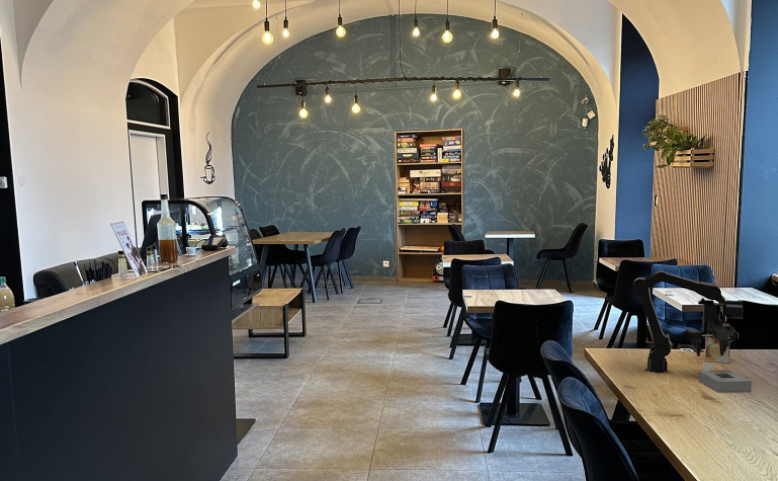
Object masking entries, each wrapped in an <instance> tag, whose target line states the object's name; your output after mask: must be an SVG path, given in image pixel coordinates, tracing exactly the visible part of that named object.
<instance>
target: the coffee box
mask: <svg viewBox="0 0 778 481" xmlns="http://www.w3.org/2000/svg"><path fill="white" fill-rule="evenodd" d="M722 324H723V326H726V327H727V326H731V324H730V323H723V322H722ZM704 342H705V343H704V344H705V345H704V346H705V348H704V357H711V358H714V359H715V363H721V364H722V363H723V364H730V360H731V358H730V357H731V342H730V343H729V345H728V346H727V348H726V350H725V352H724V355H723V356H721V355H720V348H719V340H717V339H715V337H714V336H711V337H705V341H704Z"/></svg>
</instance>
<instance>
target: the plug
mask: <svg viewBox="0 0 778 481" xmlns="http://www.w3.org/2000/svg"><path fill="white" fill-rule="evenodd" d="M702 359H703V360H702V371H716V370H715V369H716V362H715V359H714V358H711V357H705V356H704V357H703V358H702Z"/></svg>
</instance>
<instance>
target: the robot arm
mask: <svg viewBox="0 0 778 481" xmlns="http://www.w3.org/2000/svg"><path fill="white" fill-rule="evenodd" d="M660 283H666V284H670V285H672V286H676V287H679V288H681V289H685V290H688V291H691V292H693V293H695V294H697V295H699V296H701V299H700V300H699V301H697V304H698V305H701V306H702V308H703V309H702V317H700V321H702V327H700V331H698V330H696V329H693V328H692V329H691V328H690V329H685V330H684V331H683V337H684V338H686V339H688V340H689V341H690V343H691V344H692V347H693V349H694V351H695V354H696V356H697V357H701V343H702V342H703V340H702V337H703V338H704V337H705V338H706V337H711V336H714V337H715V339H717V340H719V348H720V355H721V356H723V355H724V352H725V350H726V348H727V346H728V345H729V343H730V344H731V343H732V342H734V341H736V340H738V339H739V335H740V334H739V332H738V331H737V330H736V329H735V327H733V325H730V326H727V327H726V326H723V324H722V323H723V320H722V319H721V315H722V316H723V315H724V317H725V318H728V319H729V318H730V319H739V320H740V319H741V320H742V319H743V318H744V307H743V306H744V304H743V300H729V299H726V298H725V296H723V294H722V291H721V288H720V286H719V285H718V284H716V283H714V282H706V281H697V280H693V279H689V278H686V277H683V276H679V275H676V274H674V273H669V272H666V271H665V270H658V271H656V272H655V273H652V274H649V275H647V276H644V277H642V276H641V277H640V276H639V277H637V278H635V279H634V281H633V283H632V289H633V291H634V293H635V295H636V296H637V298H638V299H639V302H641V305H642V308H643V311H644V314H645V316H646V320H647V323H648V325H649V327H650V328H649V329H650V330H651V333H652V340H653V341H652V342H653V346H652V347H651V348H650V349H649V350H648V356H647V362H646V364H647V365H646V368H645V369H644V370H645V371H647V372H648V371H649V372H651V373H652V372H653V373H658V374H659V373H660V374H661V373H665V372H668V361H667V358H666V357H668V356H669V355H670V354H671V353H672V352H671V351H672V350H671V348H672V347H673V343H672V341H671V340H670V335H669V333H666V334H665V333H664V331H663V329H662V327H661V323H660V321H659V317H658V315H657V312H656V308H655V306H654V304H653V300H652V298H651V297H652V296H651V290H650V288H652V287H653V286H654V287H655V286H656V285H657V284H660Z"/></svg>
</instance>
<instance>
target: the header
mask: <svg viewBox="0 0 778 481" xmlns="http://www.w3.org/2000/svg"><path fill="white" fill-rule="evenodd" d="M698 382H699V383H700V384H703V385H704V386H706V387H708V388H710V389H711V390H713V391H715V392H717V393H719V394H720V393H721V394H722V393H723V394H724V393H751V392H752V380H751V379H748V378H746V377H744V376H742V375H741V374H738V373H736V372H734V371H732V370H715V371H703V370H699V371H698Z"/></svg>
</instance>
